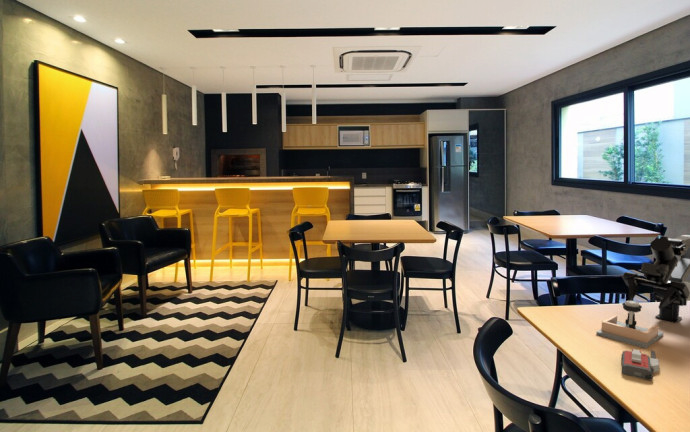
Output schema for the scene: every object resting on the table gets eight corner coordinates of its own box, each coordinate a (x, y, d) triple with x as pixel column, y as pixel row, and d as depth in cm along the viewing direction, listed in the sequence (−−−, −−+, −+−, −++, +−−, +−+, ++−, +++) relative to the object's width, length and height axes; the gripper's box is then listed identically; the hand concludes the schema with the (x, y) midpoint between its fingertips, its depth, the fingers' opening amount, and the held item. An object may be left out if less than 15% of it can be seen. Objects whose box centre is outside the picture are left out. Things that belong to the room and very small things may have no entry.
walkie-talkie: (661, 385, 109) (657, 356, 126) (662, 369, 109) (658, 342, 125) (620, 376, 114) (621, 349, 130) (621, 361, 113) (622, 336, 130)
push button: (639, 337, 136) (641, 306, 135) (619, 333, 140) (621, 303, 139) (640, 330, 142) (642, 301, 140) (621, 327, 145) (623, 298, 144)
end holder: (615, 323, 151) (616, 312, 151) (663, 335, 140) (664, 323, 139) (596, 334, 141) (597, 322, 141) (645, 348, 130) (646, 335, 130)
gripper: (626, 249, 152) (607, 284, 148) (688, 259, 136) (668, 298, 132) (636, 268, 157) (618, 302, 153) (697, 279, 141) (679, 317, 137)
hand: (644, 304), depth 144 cm, fingers open, 9 cm apart
